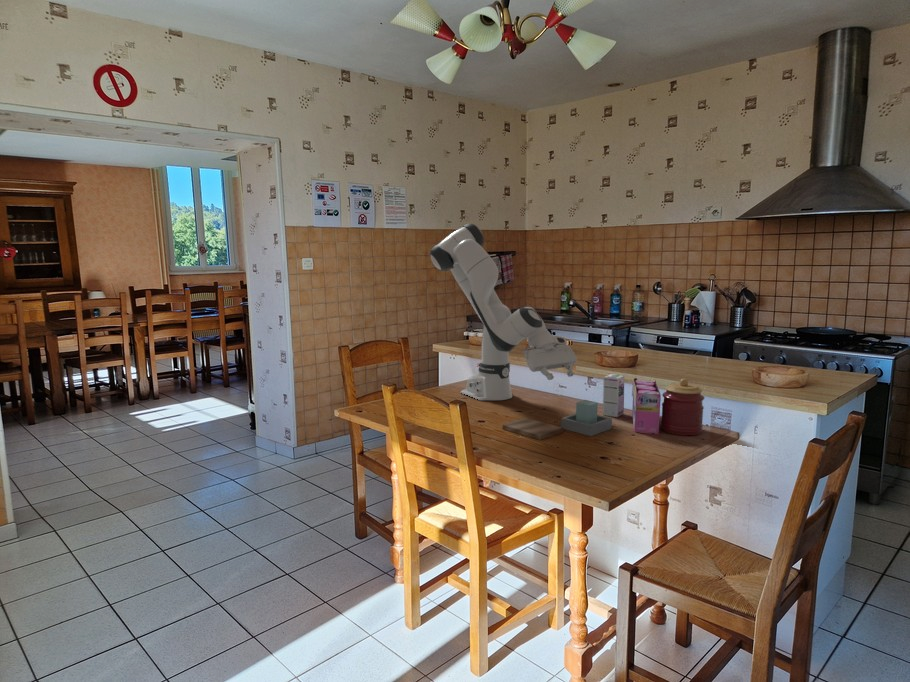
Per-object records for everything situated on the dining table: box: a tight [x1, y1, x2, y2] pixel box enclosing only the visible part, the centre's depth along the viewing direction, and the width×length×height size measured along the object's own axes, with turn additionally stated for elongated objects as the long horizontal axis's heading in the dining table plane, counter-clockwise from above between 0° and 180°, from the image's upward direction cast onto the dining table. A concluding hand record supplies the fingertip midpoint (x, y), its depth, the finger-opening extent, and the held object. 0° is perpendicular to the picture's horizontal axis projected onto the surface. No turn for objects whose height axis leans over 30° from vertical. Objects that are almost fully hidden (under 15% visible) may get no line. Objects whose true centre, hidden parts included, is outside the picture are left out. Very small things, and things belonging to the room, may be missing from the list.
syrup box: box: [602, 373, 625, 418], centre depth 211 cm, size 6×6×14 cm
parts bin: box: [560, 413, 613, 437], centre depth 196 cm, size 12×12×4 cm
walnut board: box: [502, 417, 564, 441], centre depth 194 cm, size 16×12×2 cm
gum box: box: [631, 377, 662, 435], centre depth 201 cm, size 24×8×14 cm, turn 165°
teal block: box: [575, 399, 599, 425], centre depth 196 cm, size 5×5×9 cm
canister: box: [660, 378, 705, 436], centre depth 192 cm, size 13×13×18 cm
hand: (561, 377), depth 204 cm, fingers open, 8 cm apart
